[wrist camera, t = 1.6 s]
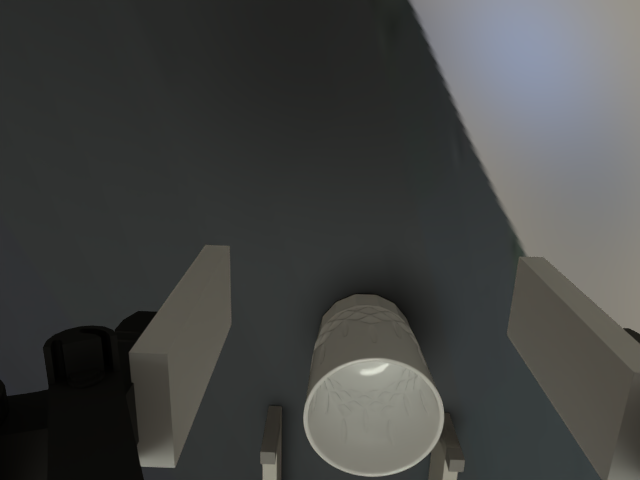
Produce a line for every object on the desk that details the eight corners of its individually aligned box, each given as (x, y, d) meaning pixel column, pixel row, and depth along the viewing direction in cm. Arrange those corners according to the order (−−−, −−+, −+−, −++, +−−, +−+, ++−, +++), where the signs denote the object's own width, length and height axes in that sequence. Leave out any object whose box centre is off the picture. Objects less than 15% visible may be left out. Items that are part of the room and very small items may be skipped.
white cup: (437, 343, 39) (471, 432, 30) (352, 398, 41) (358, 498, 31) (375, 264, 37) (390, 331, 28) (288, 324, 39) (274, 408, 29)
